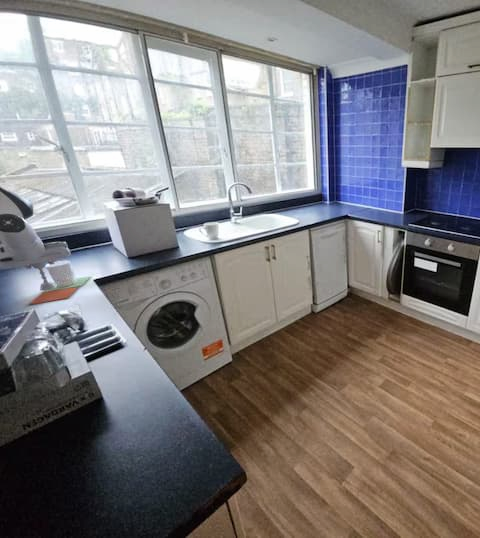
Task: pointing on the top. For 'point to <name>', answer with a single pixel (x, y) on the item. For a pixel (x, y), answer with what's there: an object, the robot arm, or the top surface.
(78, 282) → the sage mat
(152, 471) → the top surface
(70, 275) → the white cup
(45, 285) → the chalice
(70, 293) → the terracotta mat
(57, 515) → the top surface
